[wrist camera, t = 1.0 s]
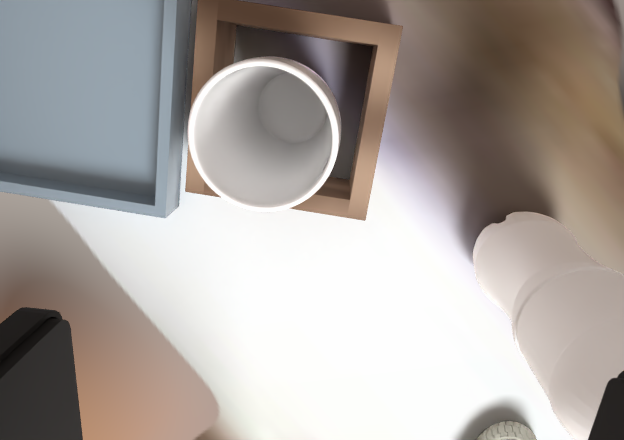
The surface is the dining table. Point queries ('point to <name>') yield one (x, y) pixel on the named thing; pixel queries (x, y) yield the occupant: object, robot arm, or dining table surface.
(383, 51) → the frame
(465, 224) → the dining table surface
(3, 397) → the robot arm
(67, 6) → the tray
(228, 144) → the drinking glass
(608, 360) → the water bottle
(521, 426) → the wristwatch
